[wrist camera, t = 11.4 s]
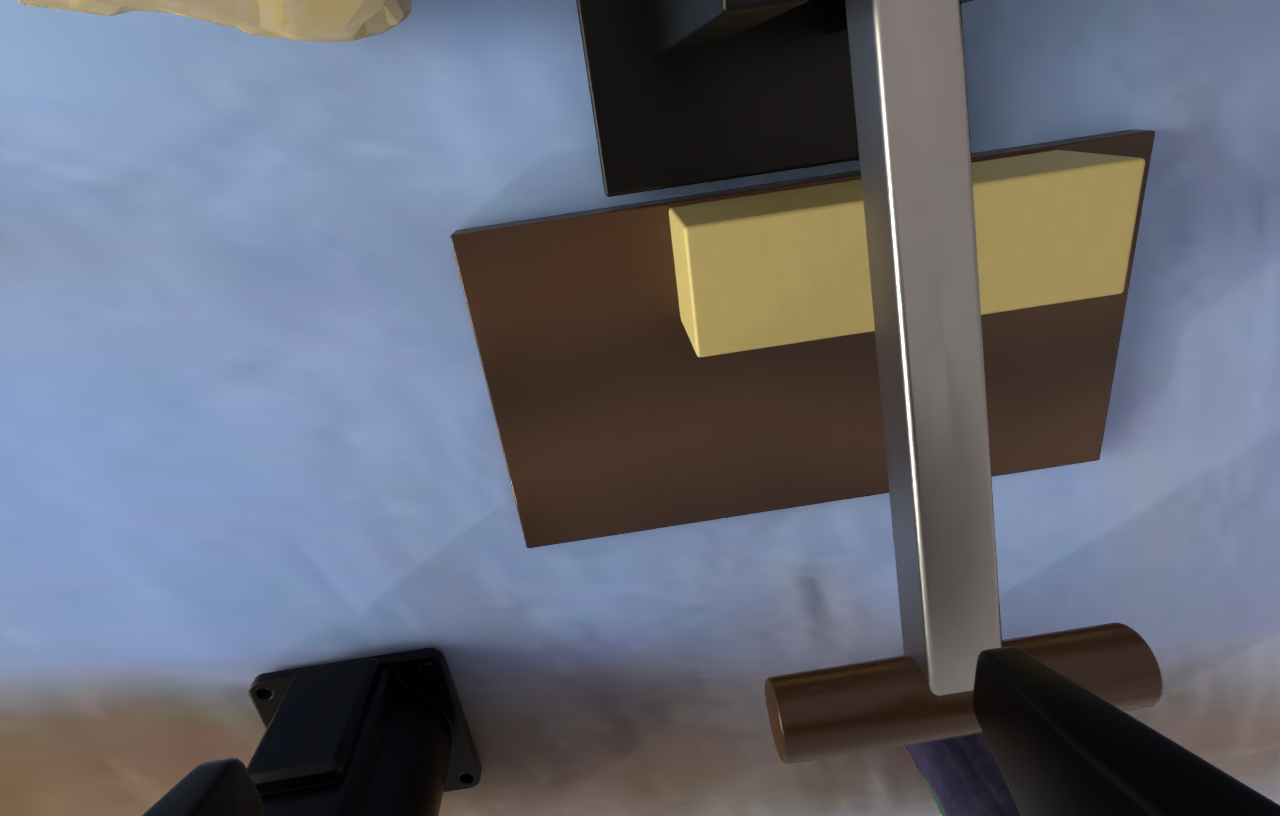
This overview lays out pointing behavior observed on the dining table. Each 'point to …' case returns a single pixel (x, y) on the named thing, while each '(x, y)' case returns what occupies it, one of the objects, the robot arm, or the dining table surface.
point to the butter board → (732, 377)
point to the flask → (964, 777)
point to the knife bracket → (716, 88)
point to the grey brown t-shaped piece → (931, 419)
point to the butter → (838, 255)
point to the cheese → (265, 15)
